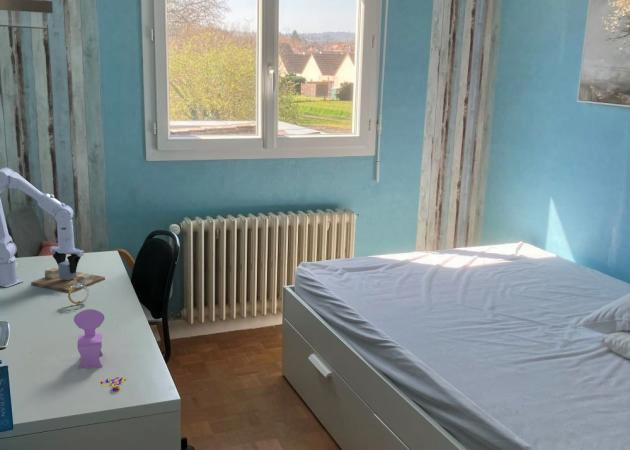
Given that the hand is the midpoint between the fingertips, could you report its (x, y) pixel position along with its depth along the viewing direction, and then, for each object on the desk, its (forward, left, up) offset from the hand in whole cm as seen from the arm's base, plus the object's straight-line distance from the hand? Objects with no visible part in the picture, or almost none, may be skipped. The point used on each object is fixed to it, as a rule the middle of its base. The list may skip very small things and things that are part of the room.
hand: (68, 271), depth 257 cm
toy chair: (+57, -51, -4) cm, 77 cm away
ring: (+21, -17, -4) cm, 27 cm away
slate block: (0, 0, -2) cm, 2 cm away
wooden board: (0, 0, -4) cm, 4 cm away
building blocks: (+72, -59, -5) cm, 93 cm away
